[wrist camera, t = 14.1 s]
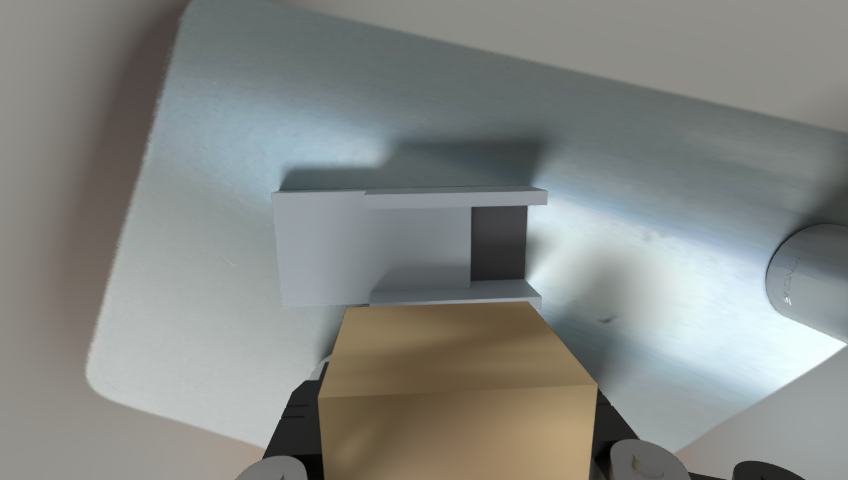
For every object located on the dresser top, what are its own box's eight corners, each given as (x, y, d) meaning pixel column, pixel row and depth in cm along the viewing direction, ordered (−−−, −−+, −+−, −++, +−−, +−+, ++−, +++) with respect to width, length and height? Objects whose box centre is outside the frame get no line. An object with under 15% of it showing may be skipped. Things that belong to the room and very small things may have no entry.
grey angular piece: (527, 185, 33) (547, 191, 28) (522, 289, 35) (540, 309, 30) (278, 190, 31) (259, 197, 27) (288, 298, 33) (272, 320, 29)
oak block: (528, 300, 11) (597, 385, 7) (520, 453, 12) (576, 596, 8) (347, 307, 11) (317, 397, 7) (356, 462, 12) (336, 615, 8)
